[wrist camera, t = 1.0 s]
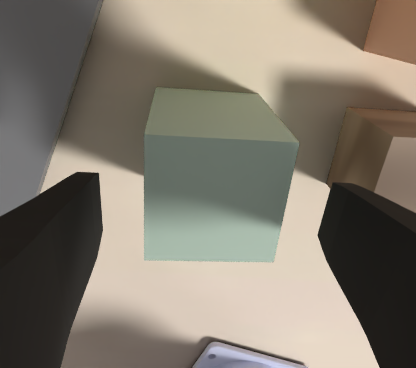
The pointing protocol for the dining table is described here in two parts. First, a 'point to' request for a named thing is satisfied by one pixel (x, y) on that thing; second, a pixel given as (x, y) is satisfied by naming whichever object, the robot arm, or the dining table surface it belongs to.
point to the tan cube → (378, 153)
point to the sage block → (214, 176)
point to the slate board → (37, 86)
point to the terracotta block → (393, 30)
